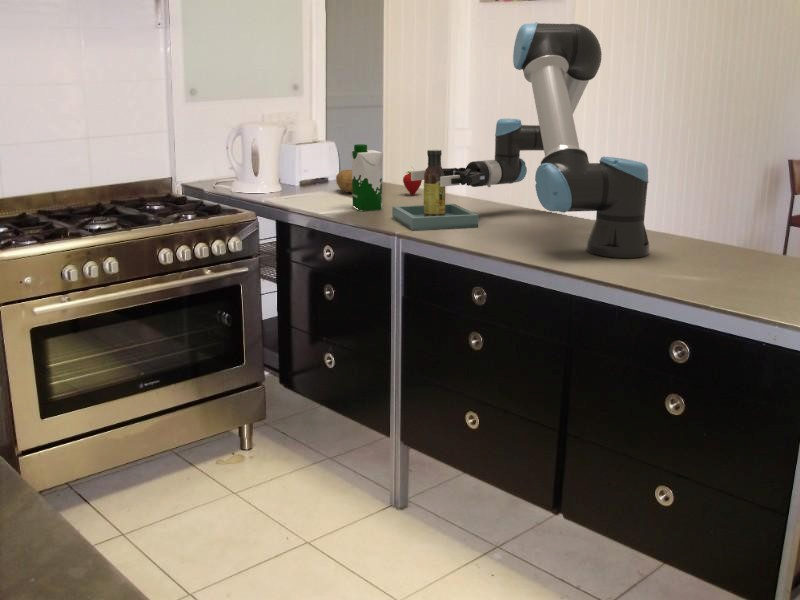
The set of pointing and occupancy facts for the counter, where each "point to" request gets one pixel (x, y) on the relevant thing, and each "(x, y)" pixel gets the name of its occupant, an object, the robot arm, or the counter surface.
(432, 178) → the sauce bottle
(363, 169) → the milk carton
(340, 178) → the potato
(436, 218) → the tray
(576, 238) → the counter surface
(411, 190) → the strawberry
